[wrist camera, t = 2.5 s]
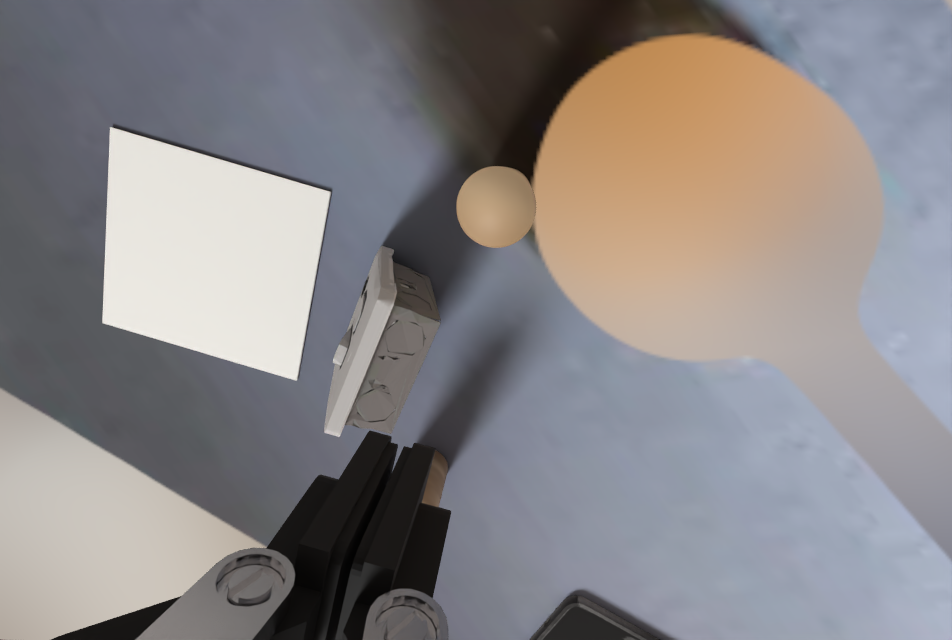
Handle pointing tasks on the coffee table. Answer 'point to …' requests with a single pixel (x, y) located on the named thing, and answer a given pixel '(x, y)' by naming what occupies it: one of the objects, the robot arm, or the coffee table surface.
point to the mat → (210, 253)
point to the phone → (587, 623)
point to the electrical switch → (382, 347)
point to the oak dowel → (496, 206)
